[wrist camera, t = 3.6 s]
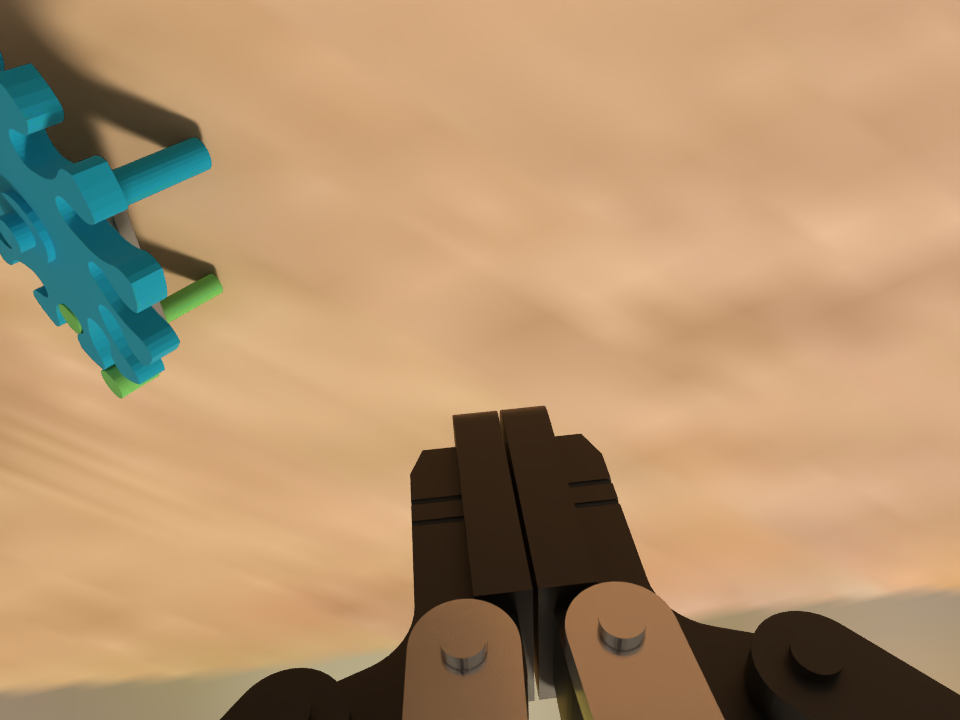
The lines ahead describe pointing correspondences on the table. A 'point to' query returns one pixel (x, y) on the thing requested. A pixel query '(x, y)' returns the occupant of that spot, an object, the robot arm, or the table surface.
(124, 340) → the gear
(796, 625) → the robot arm
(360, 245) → the table surface
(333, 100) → the table surface
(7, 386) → the table surface
